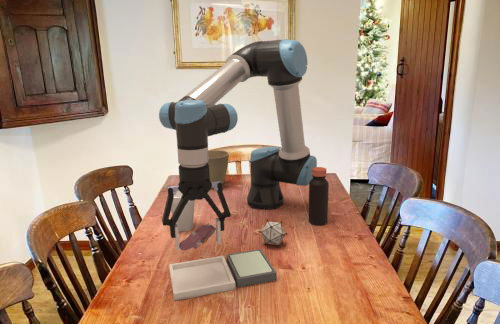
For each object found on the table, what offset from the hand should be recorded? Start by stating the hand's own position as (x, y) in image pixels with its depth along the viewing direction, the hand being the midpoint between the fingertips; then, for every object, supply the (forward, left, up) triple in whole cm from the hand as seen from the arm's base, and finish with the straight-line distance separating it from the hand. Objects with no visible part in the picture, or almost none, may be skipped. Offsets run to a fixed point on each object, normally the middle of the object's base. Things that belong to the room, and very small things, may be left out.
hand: (198, 245), depth 99 cm
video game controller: (0, -1, -1) cm, 1 cm away
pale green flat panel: (-14, 0, -9) cm, 17 cm away
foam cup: (0, -35, -11) cm, 37 cm away
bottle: (-47, -24, -11) cm, 53 cm away
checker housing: (-14, 0, -10) cm, 17 cm away
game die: (-26, -13, -11) cm, 31 cm away
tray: (0, 0, -10) cm, 10 cm away
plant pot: (-19, -76, -11) cm, 79 cm away
